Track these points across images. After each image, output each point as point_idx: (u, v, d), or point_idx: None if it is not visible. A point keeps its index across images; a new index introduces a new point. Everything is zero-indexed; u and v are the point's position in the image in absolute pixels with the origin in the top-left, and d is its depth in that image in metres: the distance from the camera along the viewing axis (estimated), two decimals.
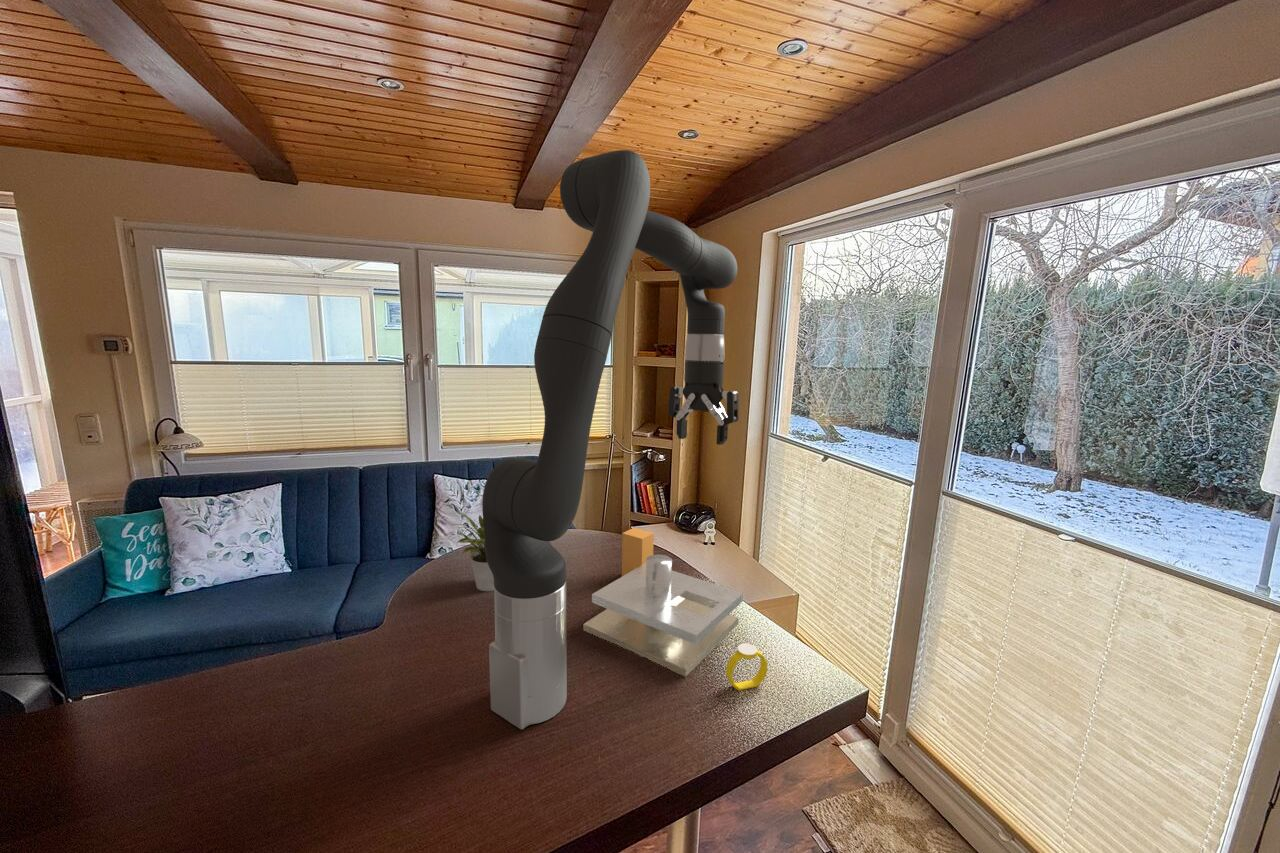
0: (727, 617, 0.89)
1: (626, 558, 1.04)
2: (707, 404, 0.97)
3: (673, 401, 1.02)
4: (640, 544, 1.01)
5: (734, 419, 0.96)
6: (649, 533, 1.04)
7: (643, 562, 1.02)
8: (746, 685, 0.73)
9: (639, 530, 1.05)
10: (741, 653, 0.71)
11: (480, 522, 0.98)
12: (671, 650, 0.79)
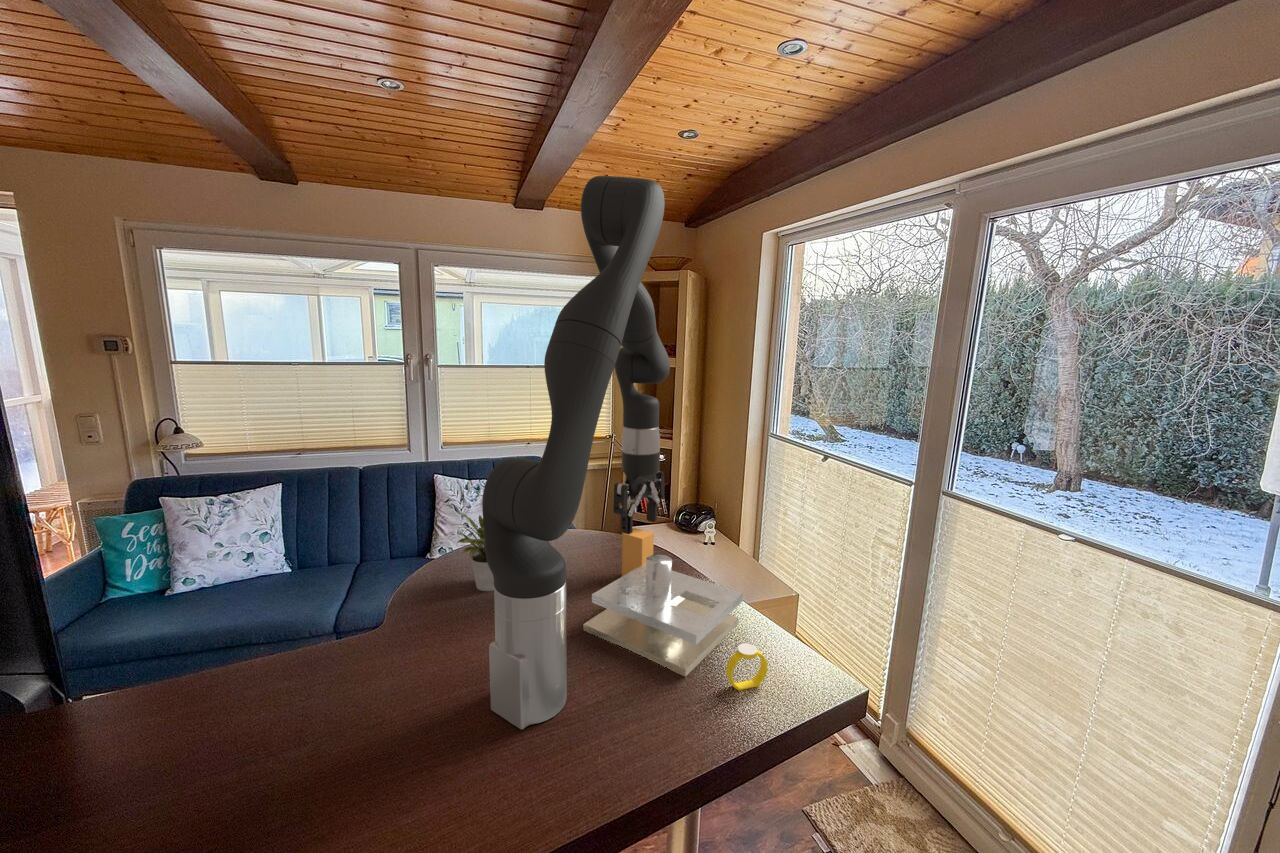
0: (727, 617, 0.89)
1: (626, 558, 1.04)
2: (652, 489, 1.03)
3: (626, 499, 0.97)
4: (640, 544, 1.01)
5: None
6: (649, 533, 1.04)
7: (643, 562, 1.02)
8: (746, 685, 0.73)
9: (639, 530, 1.05)
10: (741, 653, 0.71)
11: (480, 522, 0.98)
12: (671, 650, 0.79)
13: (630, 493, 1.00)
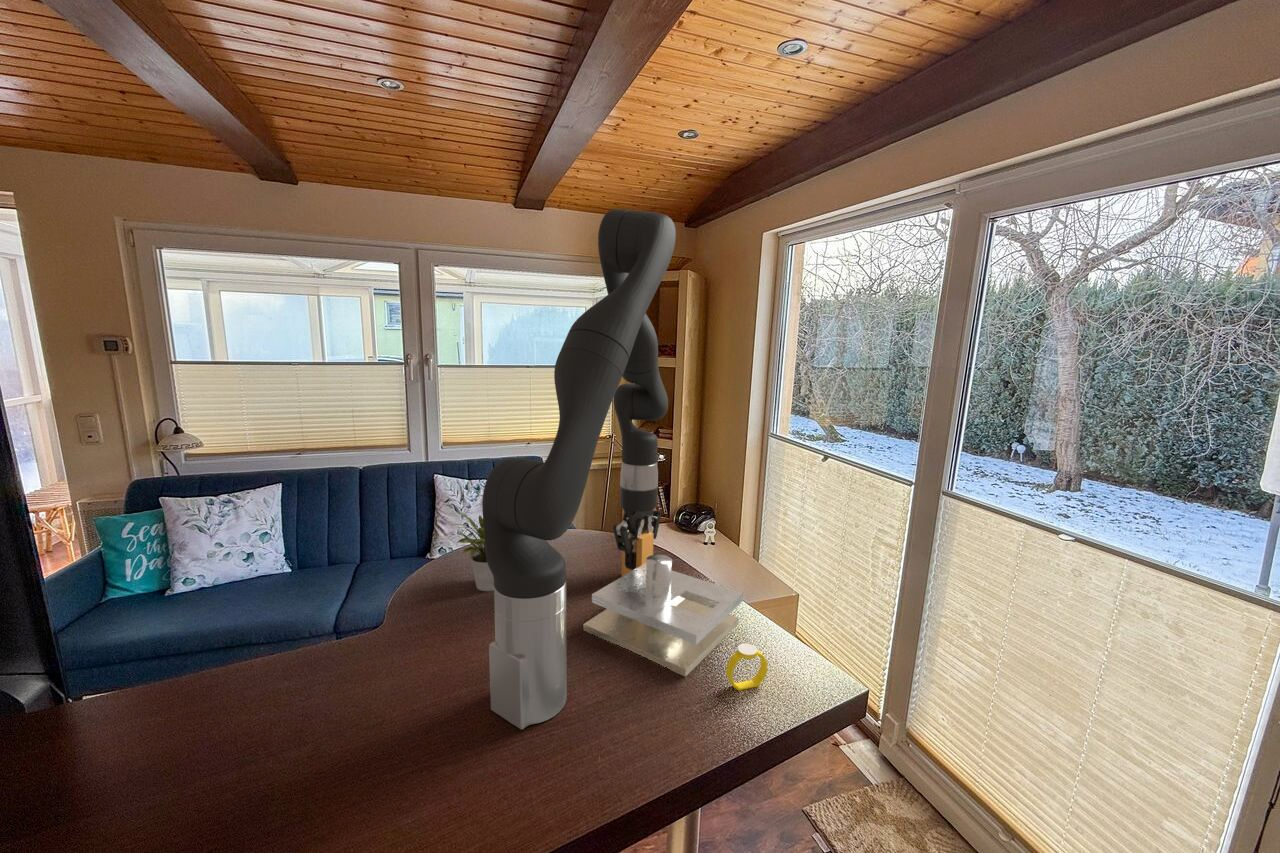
0: (727, 617, 0.89)
1: None
2: (649, 525, 1.04)
3: (628, 538, 0.99)
4: (640, 544, 1.01)
5: None
6: (649, 533, 1.04)
7: (643, 562, 1.02)
8: (746, 685, 0.73)
9: None
10: (741, 653, 0.71)
11: (480, 522, 0.98)
12: (671, 650, 0.79)
13: None
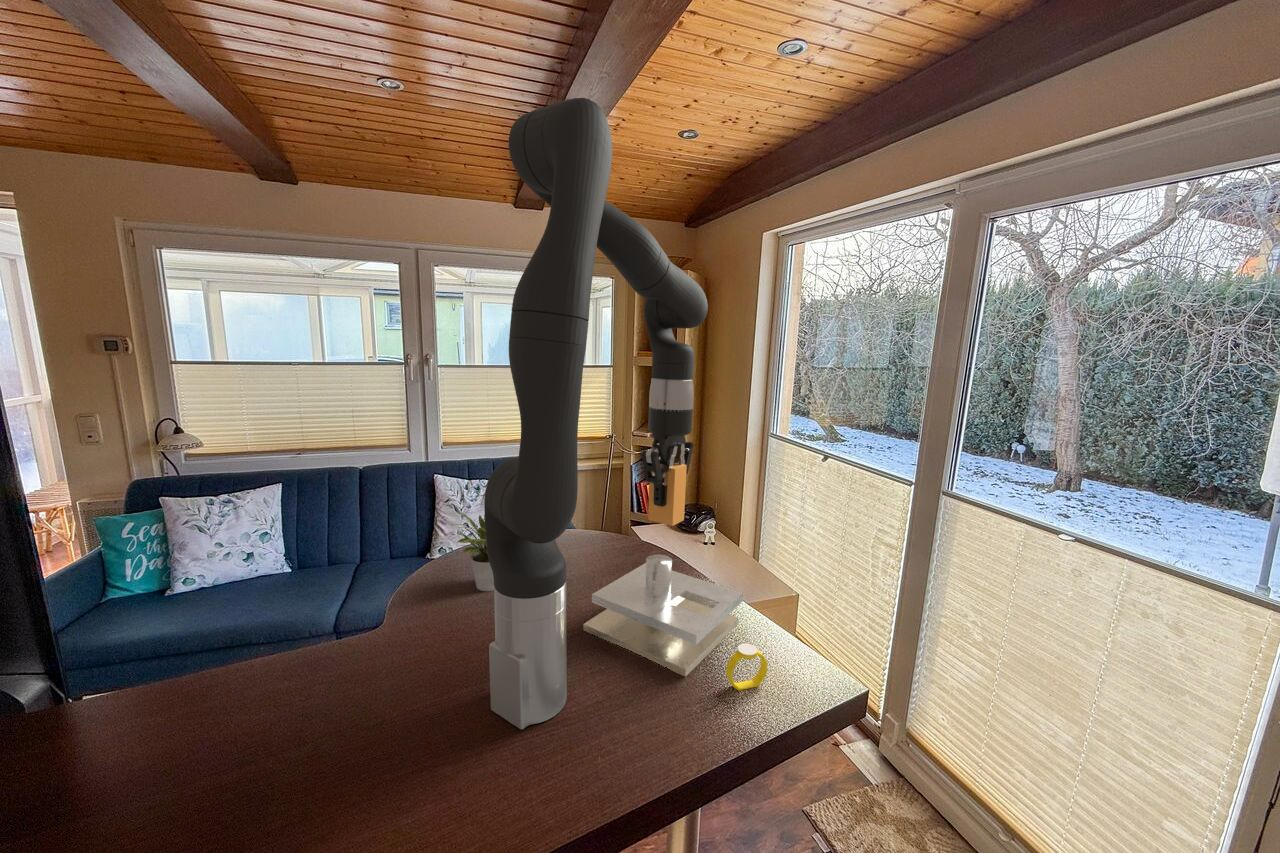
0: (727, 617, 0.89)
1: None
2: (681, 455, 0.89)
3: (659, 466, 0.84)
4: (672, 475, 0.86)
5: None
6: (681, 465, 0.89)
7: (675, 497, 0.87)
8: (746, 685, 0.73)
9: None
10: (741, 653, 0.71)
11: (480, 522, 0.98)
12: (671, 650, 0.79)
13: None
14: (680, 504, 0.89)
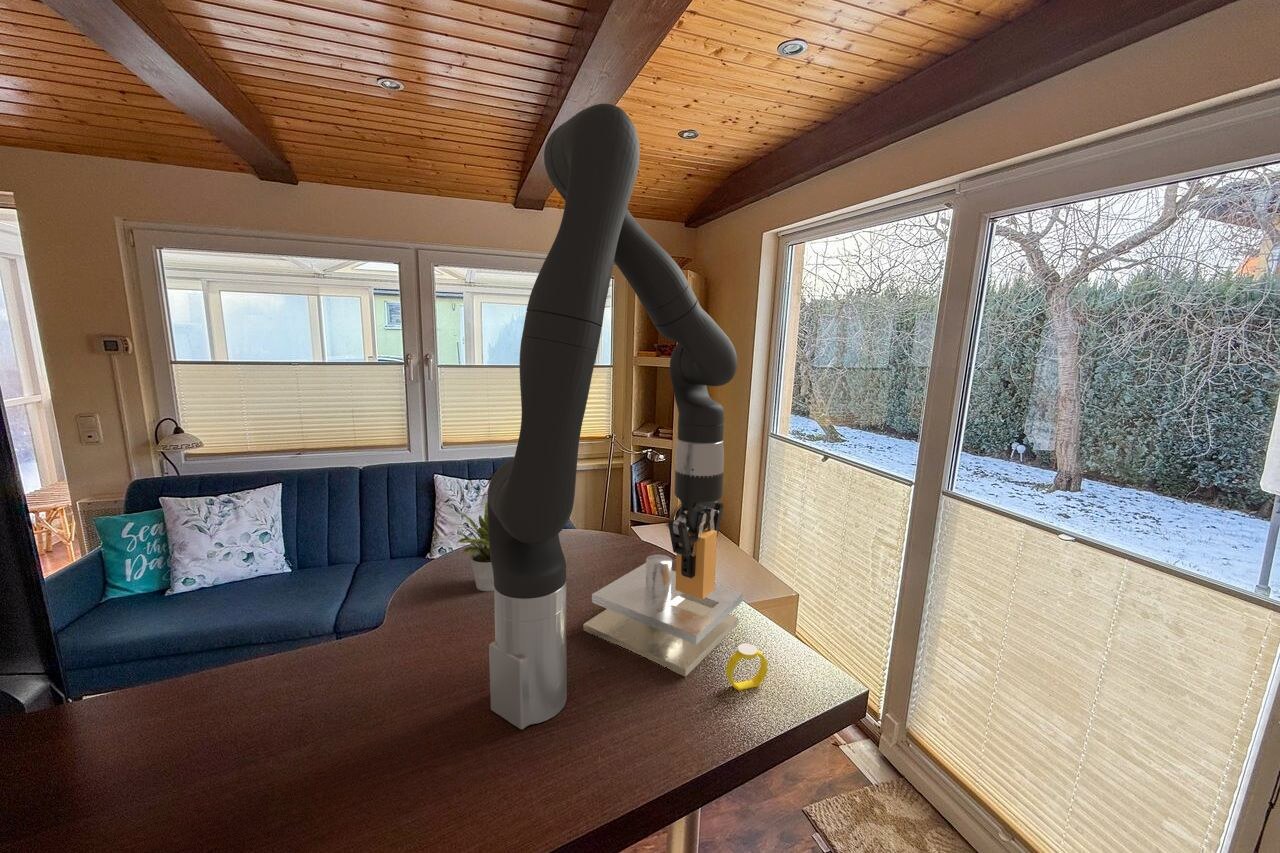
0: (727, 617, 0.89)
1: None
2: (710, 521, 0.81)
3: (687, 537, 0.77)
4: (702, 545, 0.79)
5: None
6: (711, 531, 0.81)
7: (705, 568, 0.80)
8: (746, 685, 0.73)
9: None
10: (741, 653, 0.71)
11: (480, 522, 0.98)
12: (671, 650, 0.79)
13: (688, 526, 0.79)
14: (711, 573, 0.81)
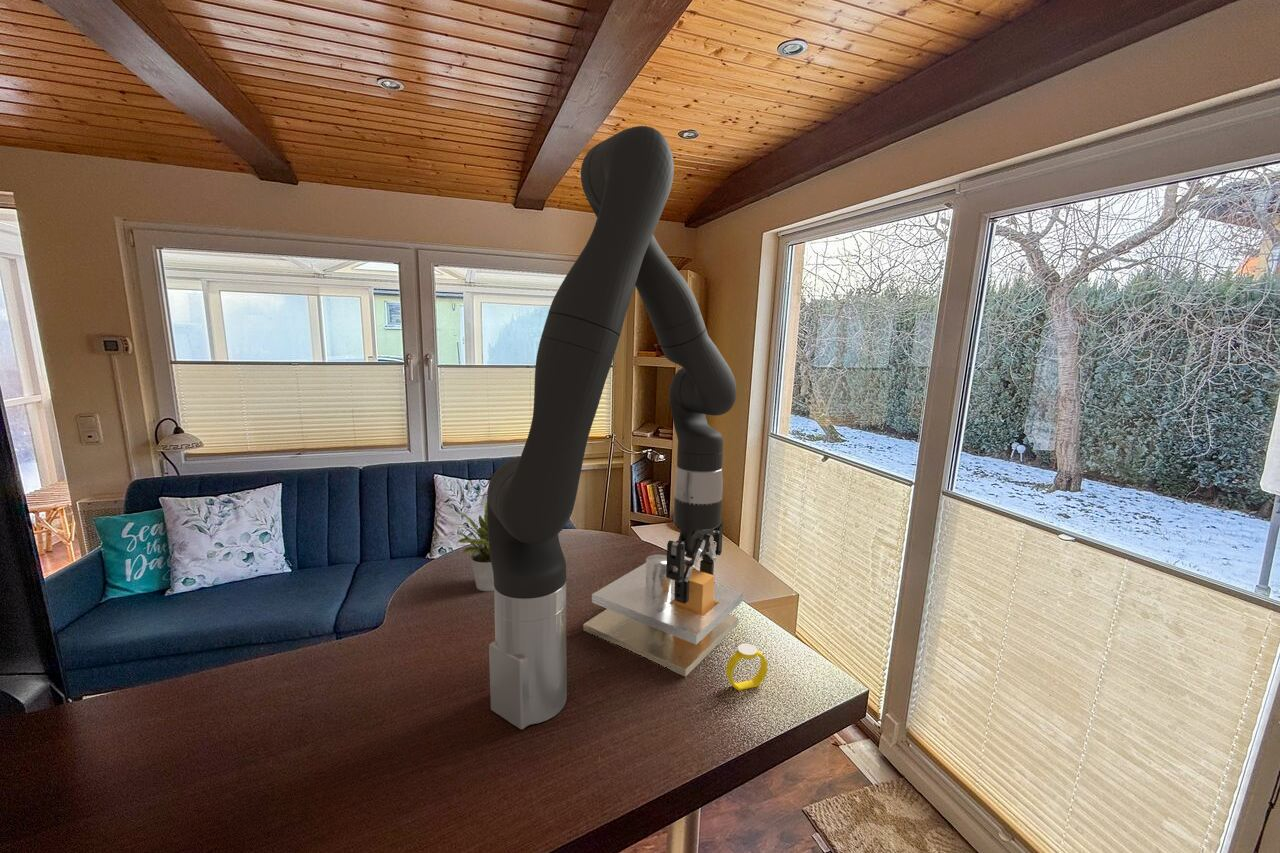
0: (727, 617, 0.89)
1: (680, 607, 0.83)
2: (711, 545, 0.82)
3: (683, 562, 0.76)
4: (700, 591, 0.80)
5: None
6: (709, 576, 0.83)
7: (703, 613, 0.81)
8: (746, 685, 0.73)
9: (695, 571, 0.84)
10: (741, 653, 0.71)
11: (480, 522, 0.98)
12: (671, 650, 0.79)
13: (685, 551, 0.80)
14: None
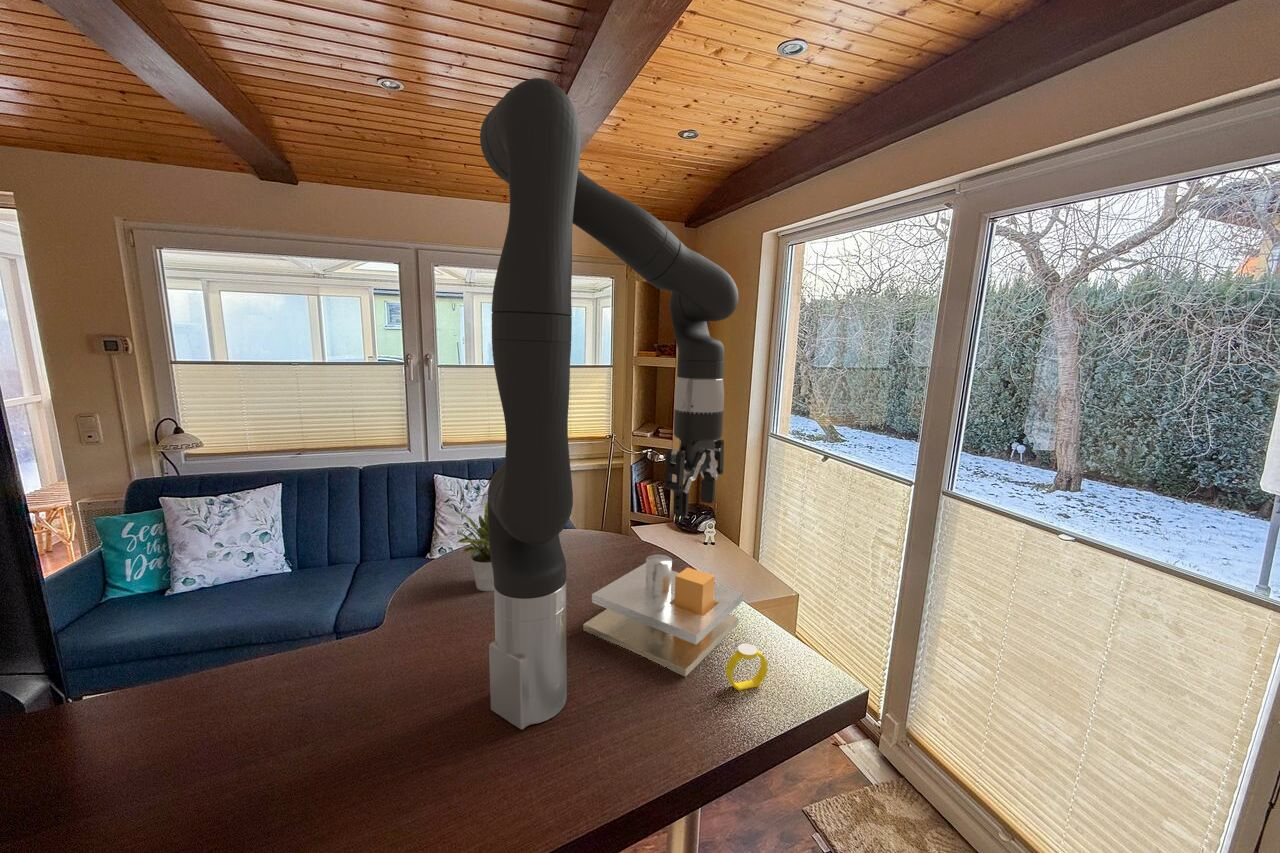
0: (727, 617, 0.89)
1: (680, 607, 0.83)
2: (712, 461, 0.81)
3: (683, 470, 0.75)
4: (700, 591, 0.80)
5: None
6: (709, 576, 0.83)
7: (703, 613, 0.81)
8: (746, 685, 0.73)
9: (695, 571, 0.84)
10: (741, 653, 0.71)
11: (480, 522, 0.98)
12: (671, 650, 0.79)
13: (685, 464, 0.78)
14: None
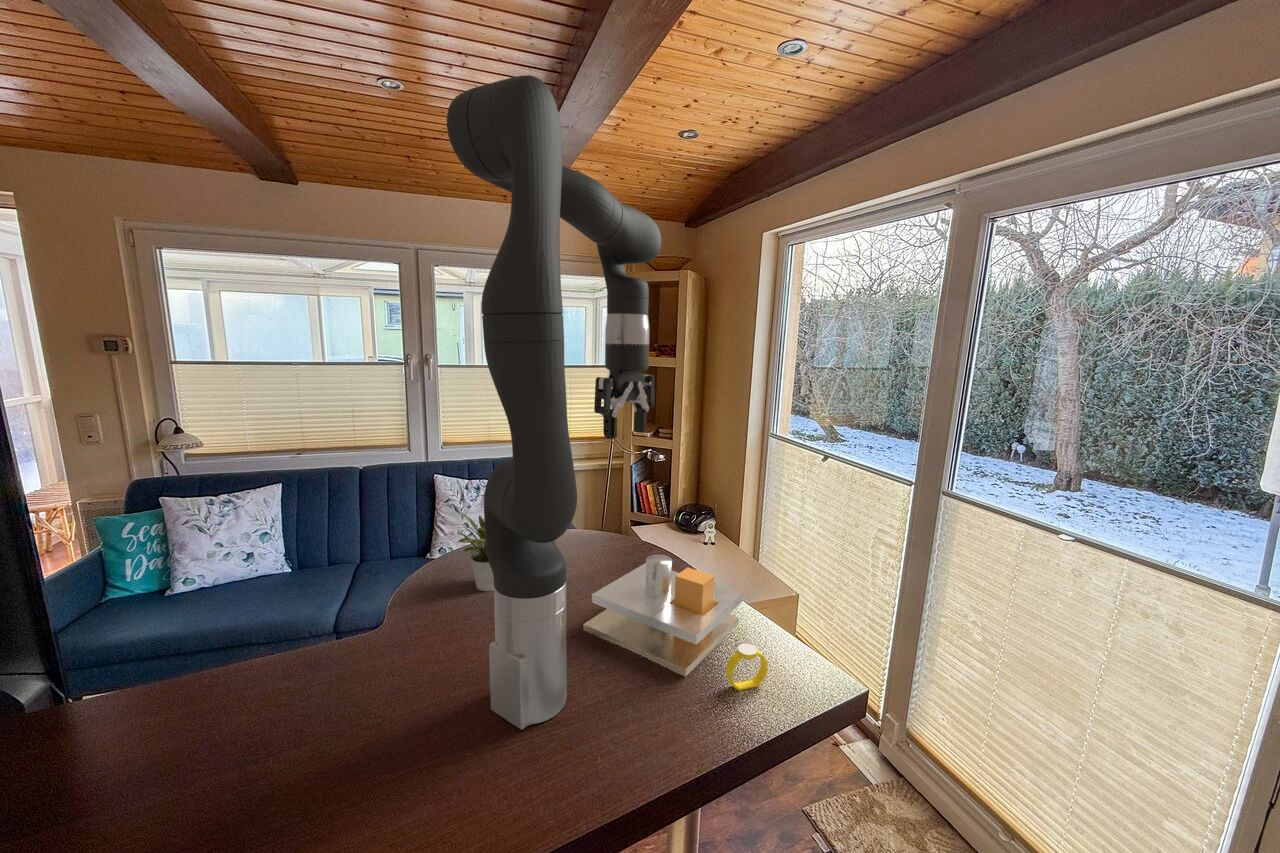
0: (727, 617, 0.89)
1: (680, 607, 0.83)
2: (640, 391, 0.89)
3: (610, 395, 0.83)
4: (700, 591, 0.80)
5: None
6: (709, 576, 0.83)
7: (703, 613, 0.81)
8: (746, 685, 0.73)
9: (695, 571, 0.84)
10: (741, 653, 0.71)
11: (480, 522, 0.98)
12: (671, 650, 0.79)
13: (614, 392, 0.87)
14: None
